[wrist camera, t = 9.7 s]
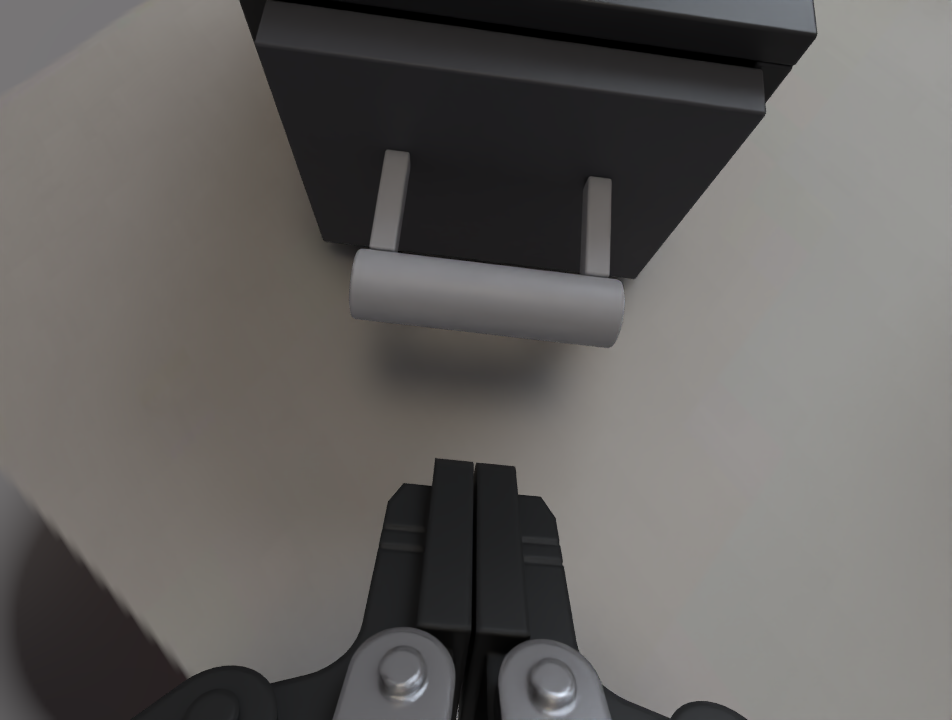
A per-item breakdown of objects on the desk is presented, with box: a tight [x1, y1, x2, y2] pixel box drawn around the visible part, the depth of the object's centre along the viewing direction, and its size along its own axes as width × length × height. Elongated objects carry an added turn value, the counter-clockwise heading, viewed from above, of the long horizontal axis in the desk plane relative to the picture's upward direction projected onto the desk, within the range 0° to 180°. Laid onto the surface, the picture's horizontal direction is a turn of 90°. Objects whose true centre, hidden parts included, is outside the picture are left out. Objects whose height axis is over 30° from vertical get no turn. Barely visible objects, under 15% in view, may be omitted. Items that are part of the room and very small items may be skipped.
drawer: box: [255, 0, 766, 348], centre depth 16 cm, size 17×10×8 cm, turn 175°
